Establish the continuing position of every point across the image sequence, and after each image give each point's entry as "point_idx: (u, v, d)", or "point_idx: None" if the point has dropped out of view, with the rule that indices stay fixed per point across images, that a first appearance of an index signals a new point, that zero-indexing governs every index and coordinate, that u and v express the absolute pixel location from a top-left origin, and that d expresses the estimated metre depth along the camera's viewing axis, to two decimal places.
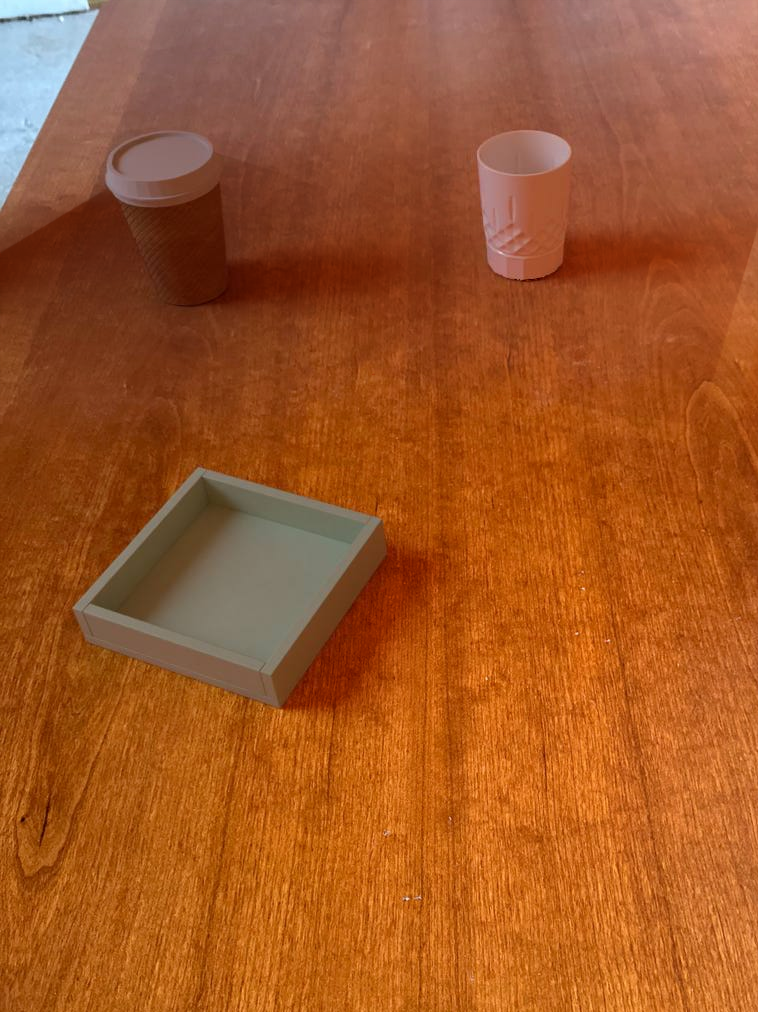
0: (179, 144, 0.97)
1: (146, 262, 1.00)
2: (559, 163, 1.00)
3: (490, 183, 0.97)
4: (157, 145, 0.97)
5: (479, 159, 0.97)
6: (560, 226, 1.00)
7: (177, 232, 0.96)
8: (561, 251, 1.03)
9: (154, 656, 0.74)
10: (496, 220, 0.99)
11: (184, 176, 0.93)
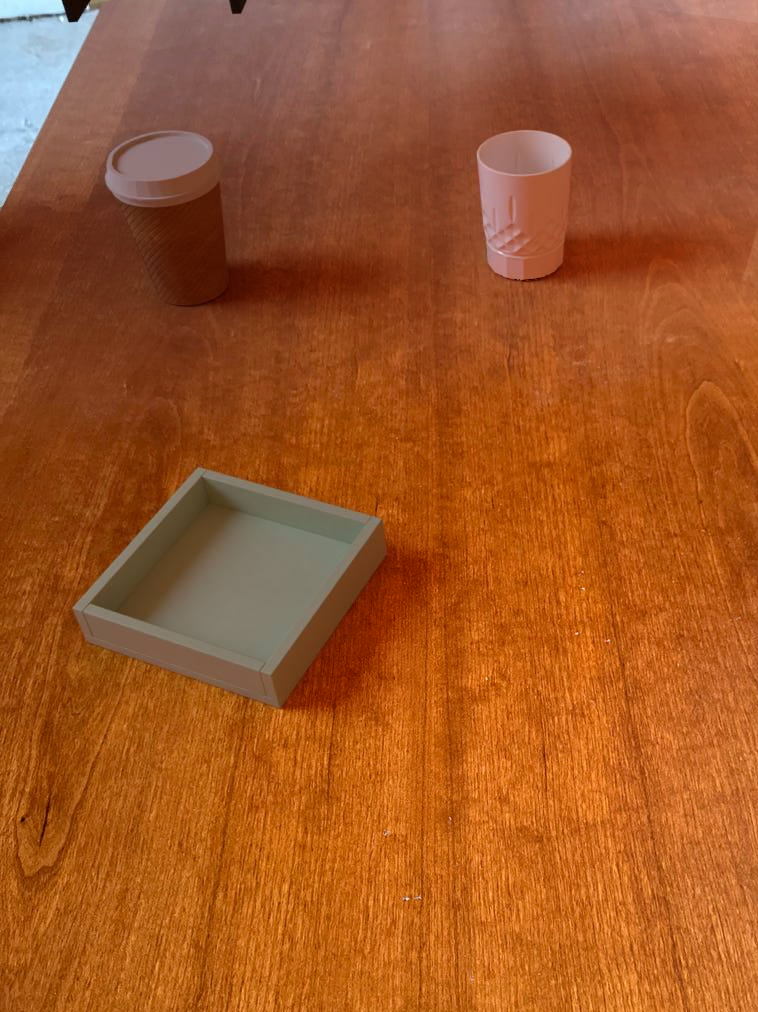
0: (179, 144, 0.97)
1: (146, 262, 1.00)
2: (559, 163, 1.00)
3: (490, 184, 0.97)
4: (157, 145, 0.97)
5: (479, 159, 0.97)
6: (560, 226, 1.00)
7: (177, 232, 0.96)
8: (561, 251, 1.03)
9: (154, 656, 0.74)
10: (496, 220, 0.99)
11: (184, 176, 0.93)
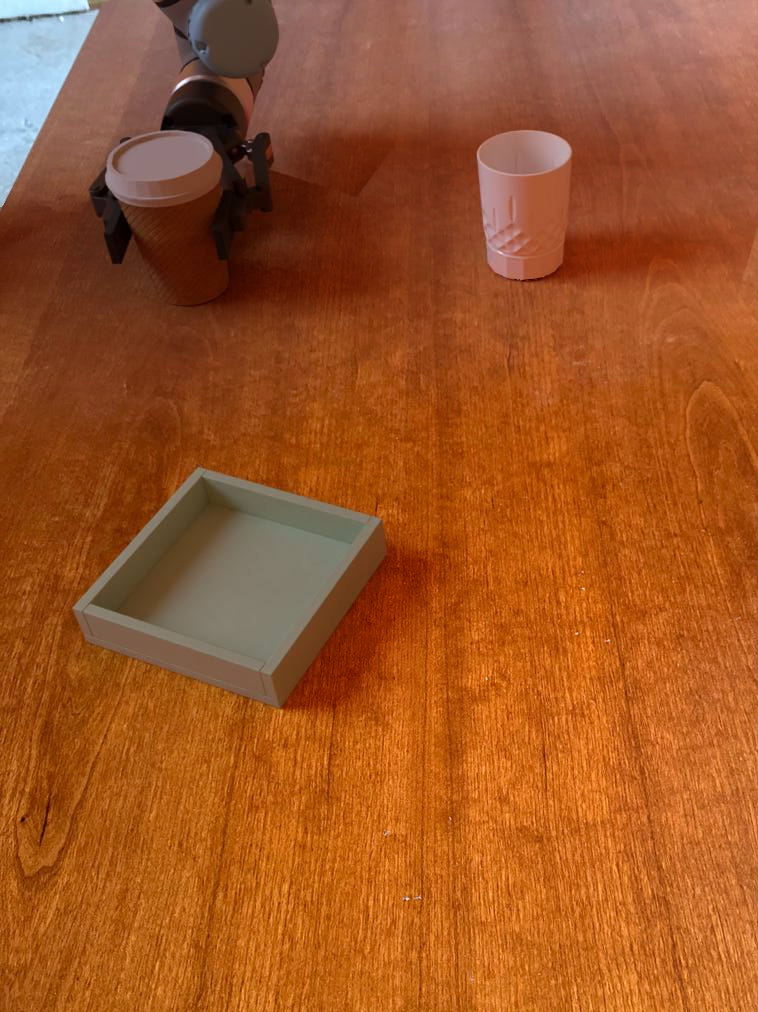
0: (179, 144, 0.97)
1: (146, 262, 1.00)
2: (559, 163, 1.00)
3: (490, 184, 0.97)
4: (157, 145, 0.97)
5: (479, 159, 0.97)
6: (560, 226, 1.00)
7: (177, 232, 0.96)
8: (561, 251, 1.03)
9: (154, 656, 0.74)
10: (496, 220, 0.99)
11: (184, 176, 0.93)
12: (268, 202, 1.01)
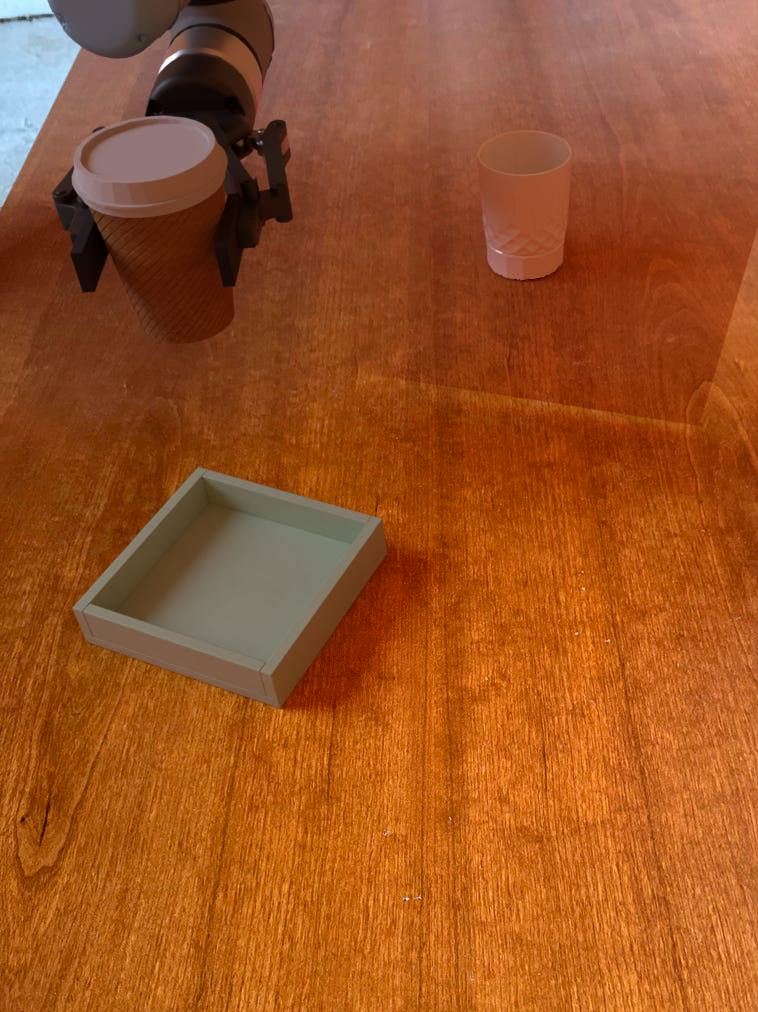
0: (170, 134, 0.74)
1: (127, 289, 0.77)
2: (559, 163, 1.00)
3: (490, 184, 0.97)
4: (141, 135, 0.74)
5: (479, 159, 0.97)
6: (560, 226, 1.00)
7: (168, 251, 0.73)
8: (561, 251, 1.03)
9: (154, 656, 0.74)
10: (496, 220, 0.99)
11: (177, 176, 0.70)
12: (286, 210, 0.78)
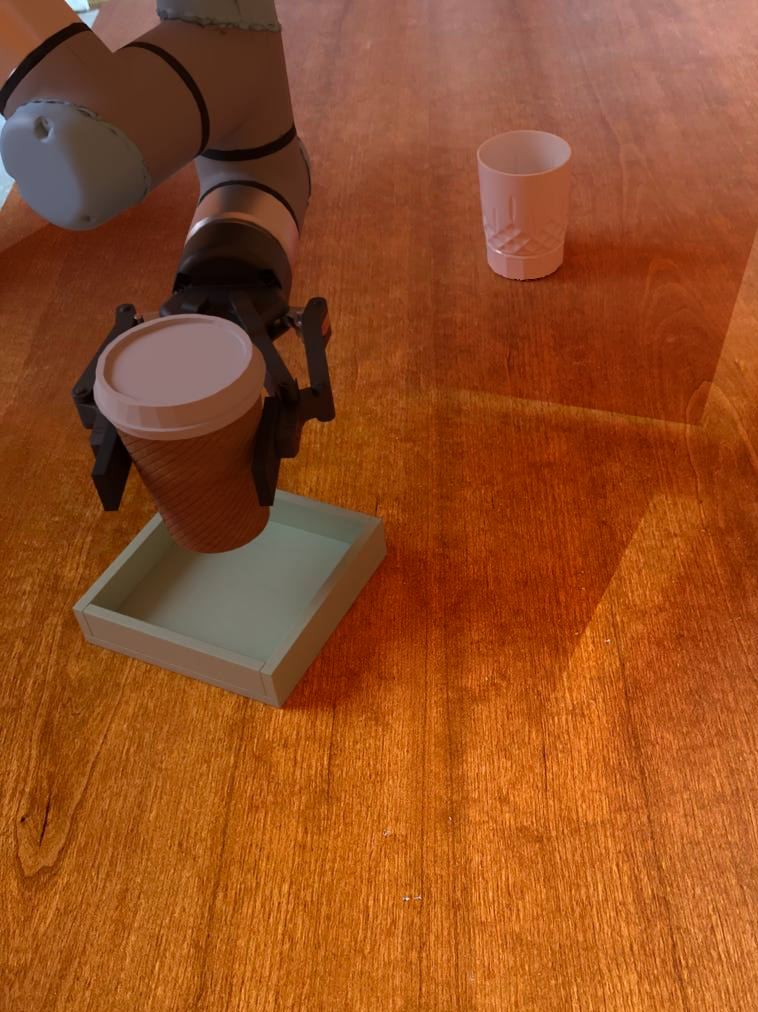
0: (202, 337, 0.66)
1: (154, 499, 0.70)
2: (559, 163, 1.00)
3: (490, 183, 0.97)
4: (170, 338, 0.67)
5: (479, 159, 0.97)
6: (560, 226, 1.00)
7: (199, 469, 0.66)
8: (561, 251, 1.03)
9: (154, 656, 0.74)
10: (496, 220, 0.99)
11: (211, 397, 0.62)
12: (328, 409, 0.71)
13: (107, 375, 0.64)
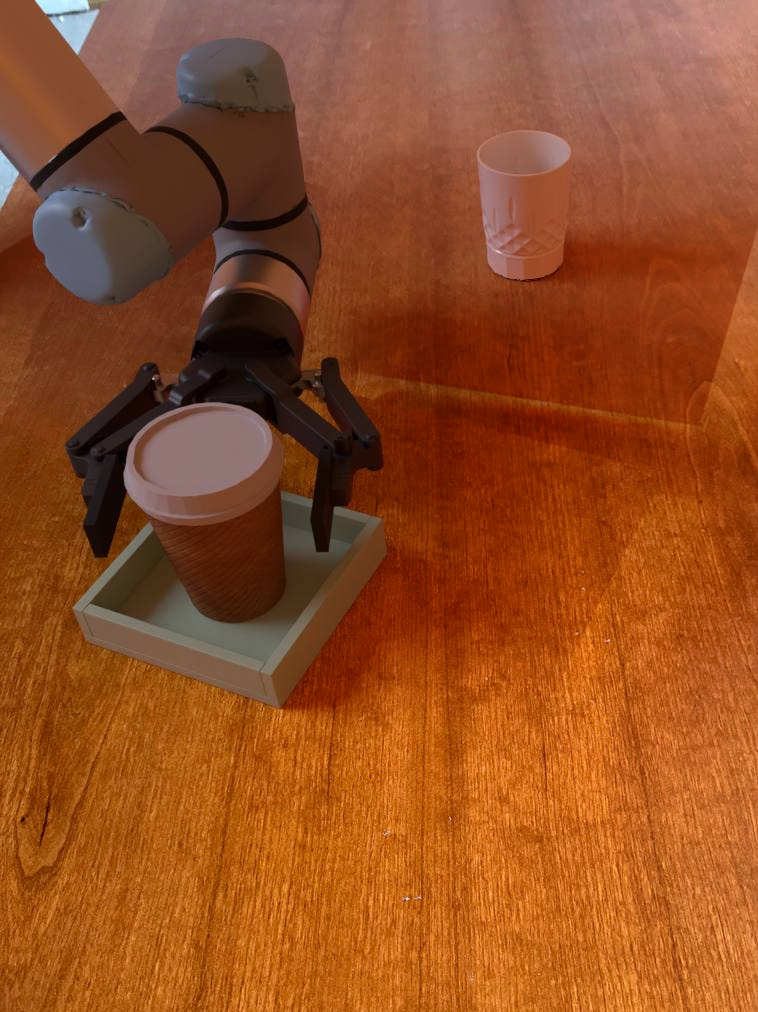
0: (225, 425, 0.71)
1: (178, 573, 0.74)
2: (559, 163, 1.00)
3: (490, 184, 0.97)
4: (195, 426, 0.71)
5: (479, 159, 0.97)
6: (560, 226, 1.00)
7: (222, 549, 0.70)
8: (561, 251, 1.03)
9: (154, 656, 0.74)
10: (496, 220, 0.99)
11: (234, 487, 0.67)
12: (380, 458, 0.76)
13: (137, 463, 0.69)
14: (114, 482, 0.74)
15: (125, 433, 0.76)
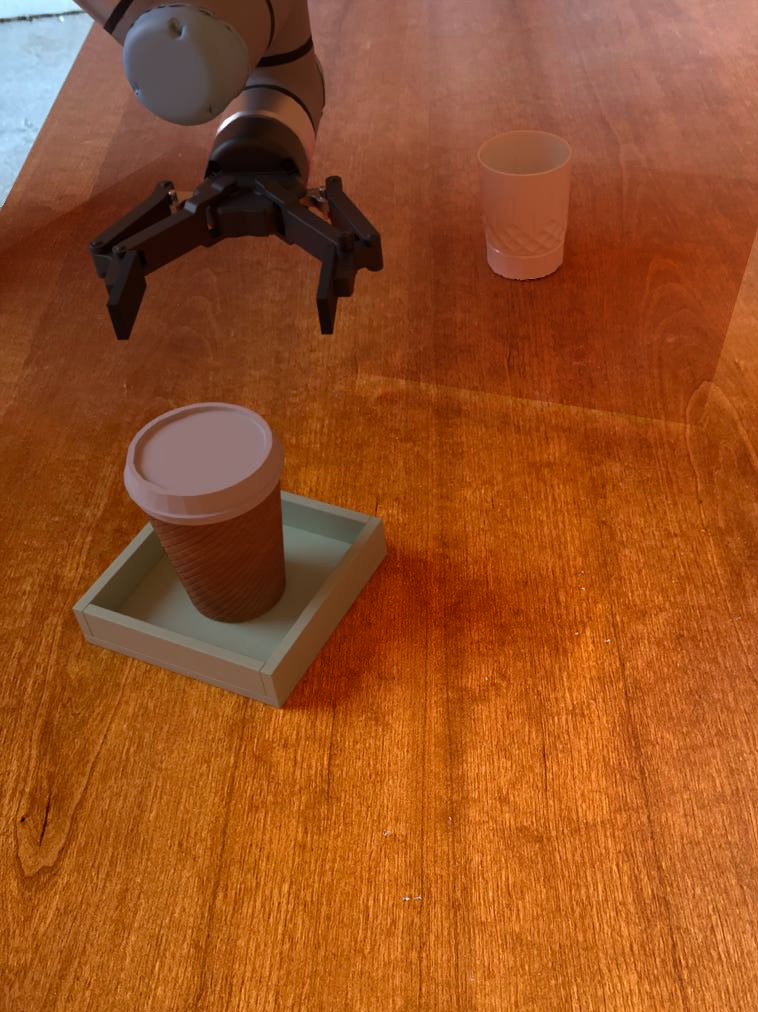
0: (224, 425, 0.71)
1: (178, 573, 0.74)
2: (559, 163, 1.00)
3: (490, 184, 0.97)
4: (195, 426, 0.71)
5: (479, 159, 0.97)
6: (560, 226, 1.00)
7: (222, 549, 0.70)
8: (561, 251, 1.03)
9: (154, 656, 0.74)
10: (496, 220, 0.99)
11: (234, 486, 0.67)
12: (380, 259, 0.82)
13: (137, 463, 0.69)
14: (134, 275, 0.80)
15: (144, 235, 0.82)
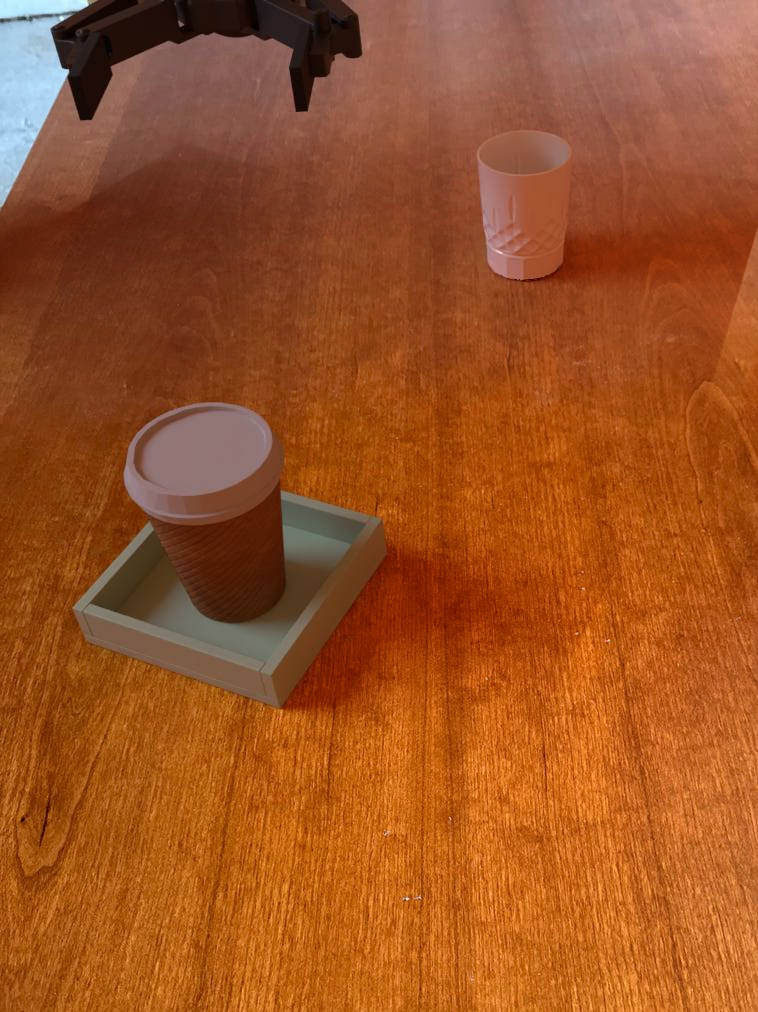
0: (225, 425, 0.71)
1: (178, 573, 0.74)
2: (559, 163, 1.00)
3: (490, 184, 0.97)
4: (195, 426, 0.71)
5: (479, 159, 0.97)
6: (560, 226, 1.00)
7: (222, 549, 0.70)
8: (561, 251, 1.03)
9: (154, 656, 0.74)
10: (496, 220, 0.99)
11: (234, 486, 0.67)
12: (358, 43, 0.78)
13: (137, 463, 0.69)
14: (98, 56, 0.76)
15: (109, 20, 0.78)
